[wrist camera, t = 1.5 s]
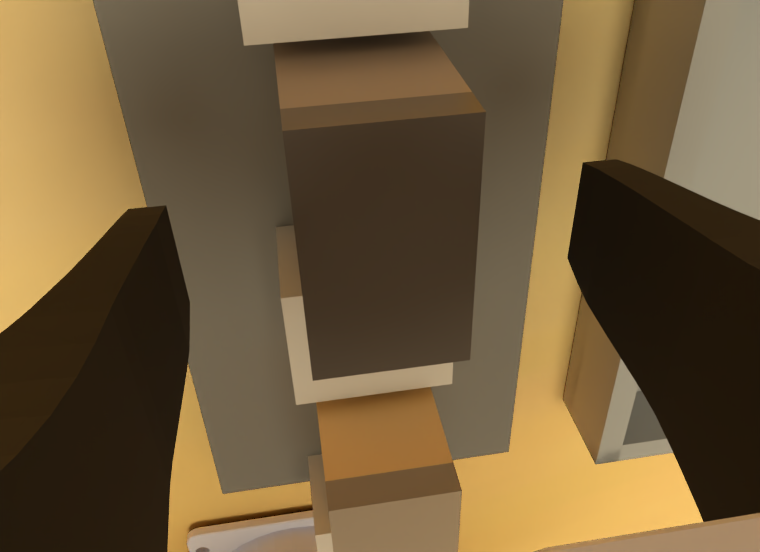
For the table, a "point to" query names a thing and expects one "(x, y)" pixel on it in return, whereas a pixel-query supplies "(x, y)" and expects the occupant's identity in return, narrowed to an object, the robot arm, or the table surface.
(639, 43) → the parts tray
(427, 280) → the block
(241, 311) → the block
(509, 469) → the table surface
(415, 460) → the fuse
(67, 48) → the table surface
